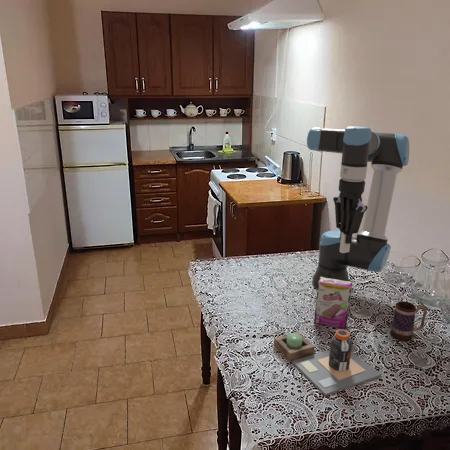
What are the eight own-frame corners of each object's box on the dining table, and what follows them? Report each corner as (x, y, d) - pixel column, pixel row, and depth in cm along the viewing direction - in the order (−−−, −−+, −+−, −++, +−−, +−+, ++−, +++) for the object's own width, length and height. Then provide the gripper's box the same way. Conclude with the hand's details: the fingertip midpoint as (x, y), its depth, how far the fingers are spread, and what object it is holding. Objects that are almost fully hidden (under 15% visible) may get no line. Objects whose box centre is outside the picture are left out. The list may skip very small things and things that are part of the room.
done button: (295, 342, 138) (296, 332, 137) (304, 350, 134) (305, 339, 133) (283, 346, 136) (283, 335, 135) (291, 354, 132) (292, 343, 131)
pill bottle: (349, 373, 124) (354, 339, 120) (328, 370, 125) (332, 336, 121) (348, 361, 129) (352, 328, 126) (328, 358, 130) (331, 325, 127)
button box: (297, 339, 141) (297, 331, 140) (313, 354, 133) (314, 346, 132) (273, 346, 137) (274, 338, 136) (289, 361, 130) (290, 353, 129)
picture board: (343, 346, 138) (344, 344, 137) (380, 376, 124) (381, 373, 124) (291, 362, 129) (292, 360, 129) (325, 395, 116) (325, 393, 115)
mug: (391, 340, 141) (396, 308, 138) (388, 329, 148) (393, 298, 144) (424, 344, 139) (430, 312, 136) (419, 333, 146) (425, 301, 142)
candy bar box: (313, 324, 150) (317, 281, 145) (315, 317, 155) (319, 276, 150) (346, 330, 147) (351, 287, 142) (347, 323, 151) (352, 281, 146)
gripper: (328, 175, 133) (322, 246, 140) (357, 184, 122) (348, 261, 129) (347, 174, 136) (340, 243, 144) (377, 182, 125) (367, 257, 132)
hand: (344, 251), depth 136 cm, fingers closed
